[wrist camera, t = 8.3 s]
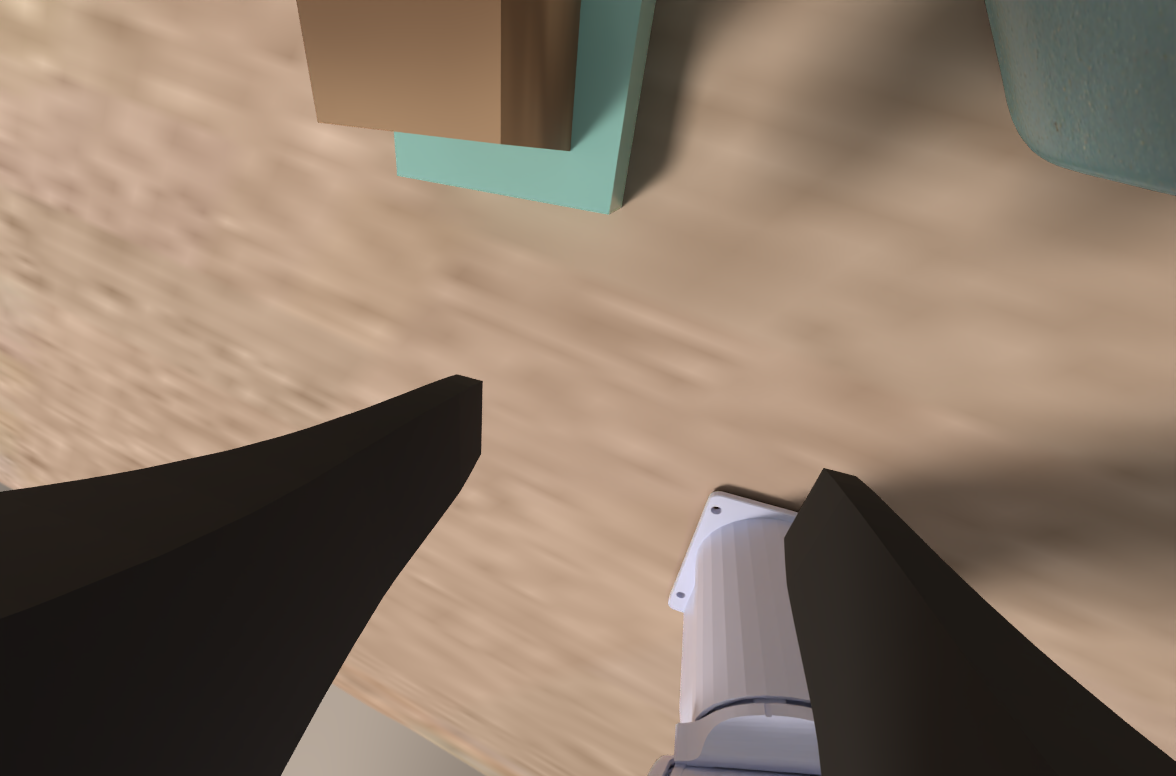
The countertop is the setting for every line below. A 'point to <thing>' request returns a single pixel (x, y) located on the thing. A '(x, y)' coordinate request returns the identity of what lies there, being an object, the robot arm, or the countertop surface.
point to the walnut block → (446, 67)
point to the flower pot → (1093, 84)
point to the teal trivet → (599, 127)
